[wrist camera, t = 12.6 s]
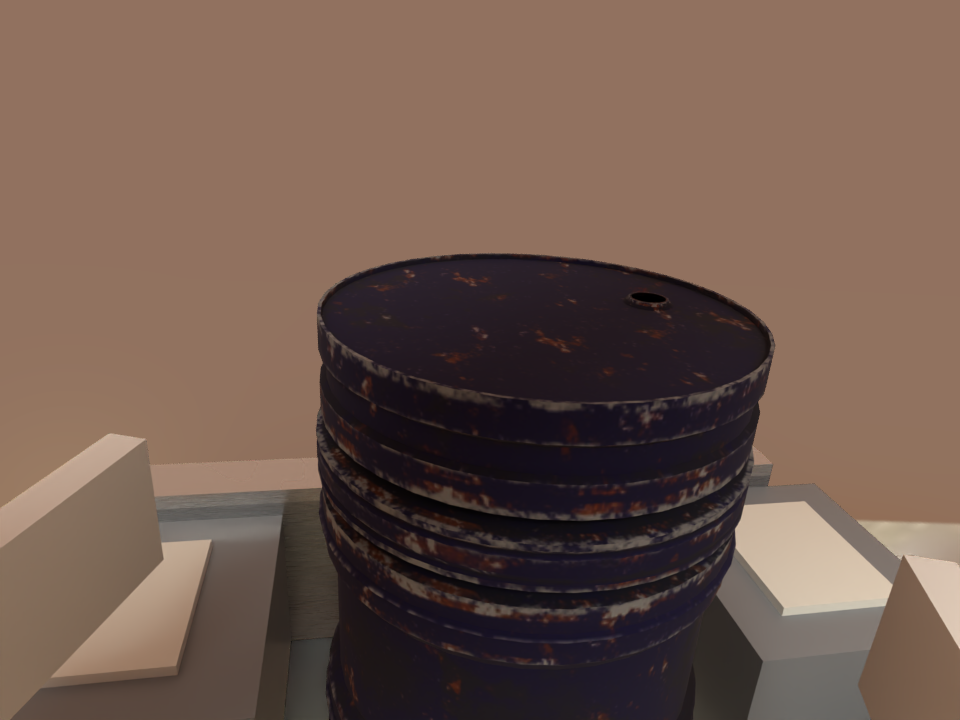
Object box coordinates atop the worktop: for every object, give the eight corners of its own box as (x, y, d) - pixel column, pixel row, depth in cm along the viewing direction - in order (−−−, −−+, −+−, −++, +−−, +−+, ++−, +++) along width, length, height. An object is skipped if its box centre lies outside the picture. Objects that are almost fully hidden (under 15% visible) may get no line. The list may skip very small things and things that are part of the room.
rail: (739, 599, 29) (773, 463, 26) (83, 659, 24) (48, 502, 22) (716, 567, 31) (745, 438, 28) (101, 618, 26) (71, 468, 24)
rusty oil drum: (387, 1059, 15) (386, 450, 9) (302, 701, 23) (274, 263, 17) (744, 875, 19) (898, 365, 13) (562, 624, 27) (608, 245, 21)
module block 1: (269, 869, 18) (253, 708, 16) (-75, 920, 17) (-145, 751, 15) (291, 640, 25) (282, 507, 23) (52, 662, 24) (18, 522, 22)
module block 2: (928, 771, 22) (989, 628, 20) (724, 802, 21) (765, 653, 18) (783, 595, 29) (816, 476, 27) (625, 610, 28) (646, 486, 26)
